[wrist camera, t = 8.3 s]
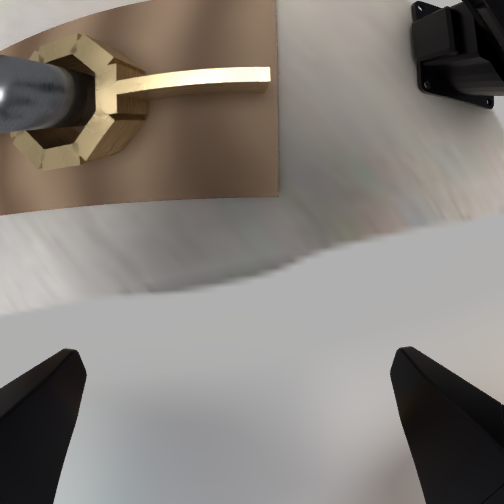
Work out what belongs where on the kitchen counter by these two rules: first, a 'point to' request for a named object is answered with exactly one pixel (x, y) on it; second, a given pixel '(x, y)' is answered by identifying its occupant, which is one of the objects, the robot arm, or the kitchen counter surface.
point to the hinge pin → (43, 96)
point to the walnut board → (168, 111)
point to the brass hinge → (119, 100)
